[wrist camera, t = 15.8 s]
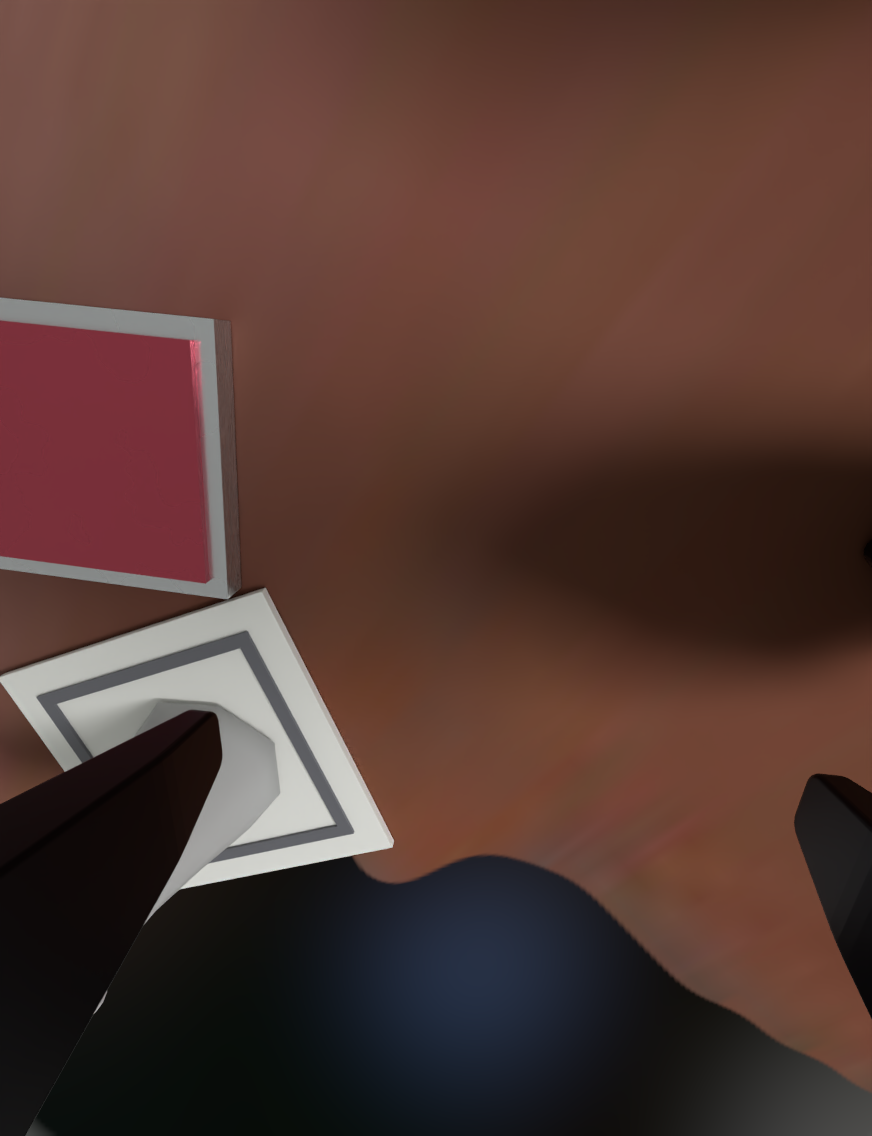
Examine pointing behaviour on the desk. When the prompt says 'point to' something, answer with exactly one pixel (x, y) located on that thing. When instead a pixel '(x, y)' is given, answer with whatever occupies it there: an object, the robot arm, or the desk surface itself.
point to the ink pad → (118, 448)
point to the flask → (223, 792)
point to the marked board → (238, 685)
